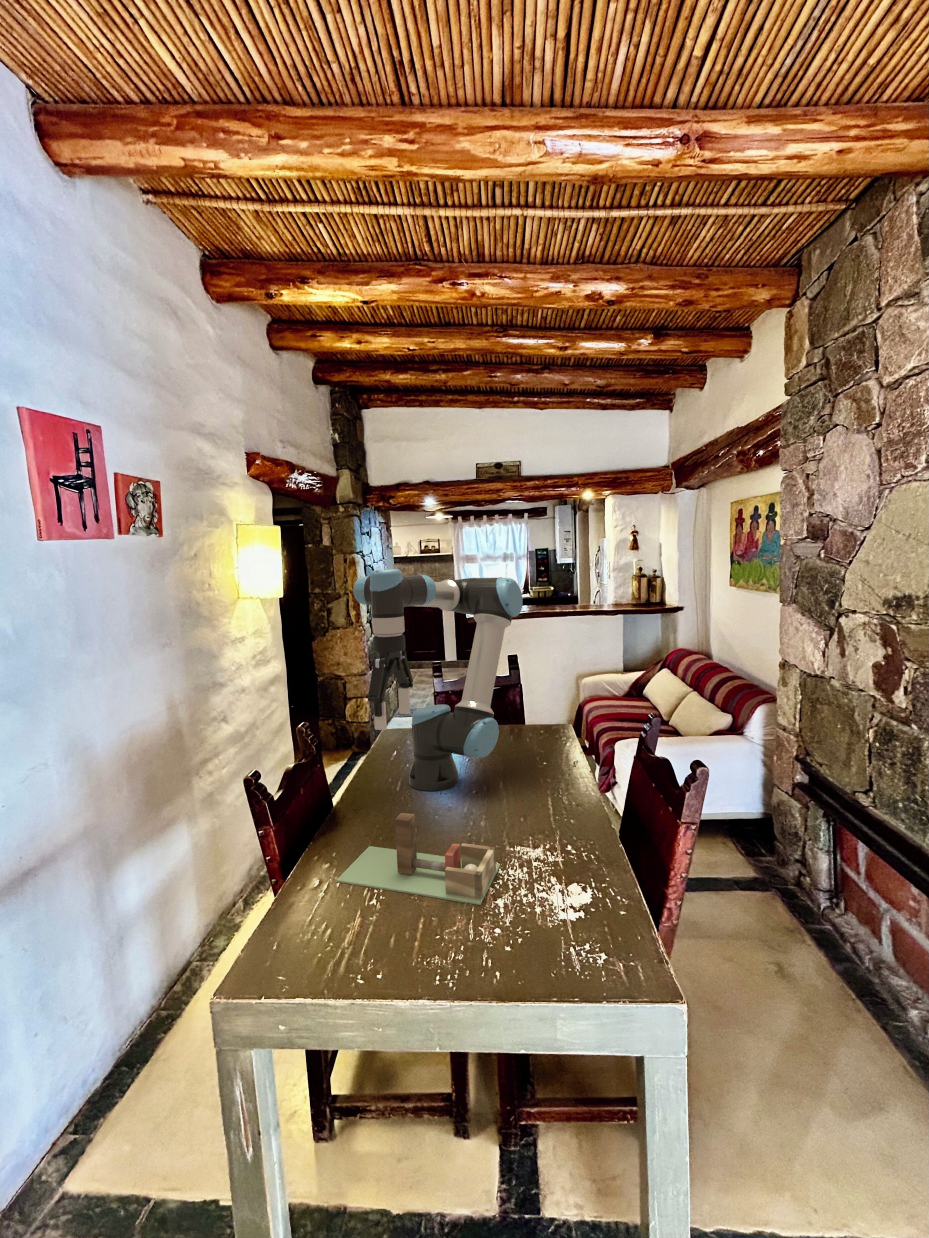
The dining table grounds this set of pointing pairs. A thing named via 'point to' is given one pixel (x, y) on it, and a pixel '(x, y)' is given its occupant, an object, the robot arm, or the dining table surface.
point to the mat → (402, 875)
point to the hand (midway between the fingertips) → (393, 721)
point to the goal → (471, 871)
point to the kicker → (409, 854)
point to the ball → (471, 867)
